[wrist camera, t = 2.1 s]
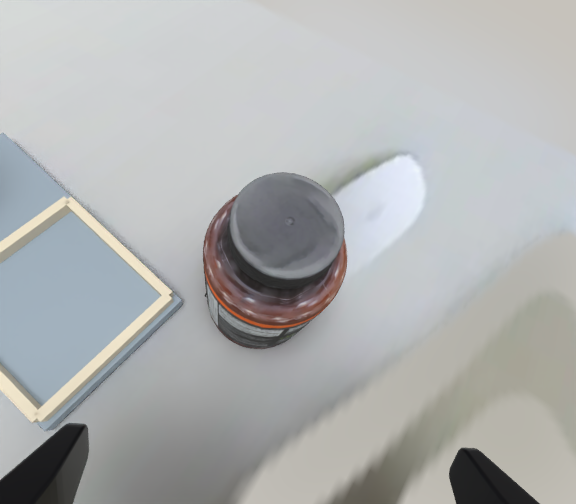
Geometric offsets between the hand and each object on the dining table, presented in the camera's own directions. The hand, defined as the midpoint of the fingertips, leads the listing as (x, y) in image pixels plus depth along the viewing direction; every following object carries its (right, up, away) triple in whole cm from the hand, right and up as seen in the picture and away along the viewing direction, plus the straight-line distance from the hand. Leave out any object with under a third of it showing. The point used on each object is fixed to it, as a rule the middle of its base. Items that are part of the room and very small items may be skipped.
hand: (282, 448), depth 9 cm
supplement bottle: (-2, +2, +14) cm, 15 cm away
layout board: (-14, +4, +13) cm, 19 cm away
